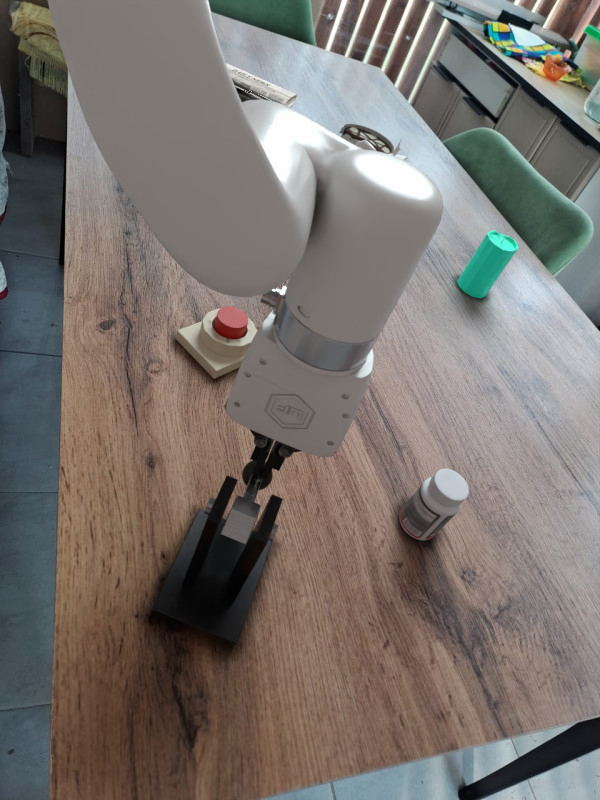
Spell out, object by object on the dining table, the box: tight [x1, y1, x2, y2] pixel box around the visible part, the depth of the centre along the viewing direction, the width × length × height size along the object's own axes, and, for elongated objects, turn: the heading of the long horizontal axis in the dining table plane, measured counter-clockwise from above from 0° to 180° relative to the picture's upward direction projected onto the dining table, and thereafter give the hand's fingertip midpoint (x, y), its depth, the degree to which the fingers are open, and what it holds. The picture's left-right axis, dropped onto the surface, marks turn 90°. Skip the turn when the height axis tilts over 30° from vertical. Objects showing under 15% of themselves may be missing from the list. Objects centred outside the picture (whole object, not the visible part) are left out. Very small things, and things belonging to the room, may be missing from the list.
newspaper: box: [226, 62, 298, 108], centre depth 135 cm, size 23×12×2 cm, turn 73°
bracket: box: [150, 475, 284, 649], centre depth 49 cm, size 11×8×13 cm
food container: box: [338, 123, 395, 154], centre depth 117 cm, size 12×6×10 cm, turn 56°
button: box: [214, 305, 249, 339], centre depth 72 cm, size 4×4×2 cm
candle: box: [456, 229, 519, 299], centre depth 102 cm, size 6×6×12 cm
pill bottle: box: [398, 468, 470, 541], centre depth 63 cm, size 5×5×8 cm
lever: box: [221, 460, 274, 544], centre depth 51 cm, size 13×3×3 cm
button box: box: [175, 307, 258, 380], centre depth 74 cm, size 10×8×4 cm
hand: (263, 465), depth 55 cm, fingers closed
